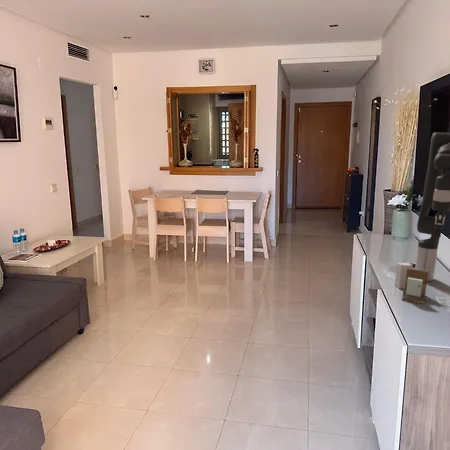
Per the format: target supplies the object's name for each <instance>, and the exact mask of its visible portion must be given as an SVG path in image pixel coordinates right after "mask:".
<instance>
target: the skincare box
mask: <svg viewBox="0 0 450 450" xmlns="http://www.w3.org/2000/svg"><path fill="white" fill-rule="evenodd" d="M413 265H414V264H411V263H409V262H397V264H396V271H395V272H396V273H395V280H394V281H395V282H394V286H395V287H396V286H397V287H398V289H405V281H406V273H407V268H412V269H414V268H413V267H414V266H413ZM397 287H396V288H397Z"/></svg>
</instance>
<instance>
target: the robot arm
mask: <svg viewBox="0 0 450 450" xmlns="http://www.w3.org/2000/svg"><path fill="white" fill-rule="evenodd" d="M430 138H431V139H430V145H429V154H428V163H427V164H428V165H427V170H426V174H425V175H426V176H425V179H424V180H425V181H424V187H423V194H422V195H423V196H422V201H421V207H420V211H419V215H418V219H417V224H416V229H417V232H418V233H419V234H425V235H430V237H428V238H425V239H424V238H423V239H420V240H419V241H418V242H417V250H416V251H417V252H416V257H415V266H414V269H418V270H425V271H428V278H427V282H432V281H434V277H435V276H434V275H435V269H436V263H437V262H436V261H437V257H438V256H437V255H438V249H439V243H440V238H441V235H442V230H443V225H444V224H445V219H446V214H445V212H450V132H436V131H435V132H433V133H432V135H431V137H430ZM444 171H449V173H447V174H445V173H444ZM430 210H433V211H437V213H435V215H434V216H430V215H429V213H430Z"/></svg>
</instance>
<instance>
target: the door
mask: <svg viewBox="0 0 450 450" xmlns="http://www.w3.org/2000/svg"><path fill="white" fill-rule="evenodd" d="M422 282H423V280H422V279H416V278H410V277H408V282H407V290H406V294H407V295H412V296H417V297H421V290H422Z"/></svg>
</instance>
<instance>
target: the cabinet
mask: <svg viewBox="0 0 450 450" xmlns="http://www.w3.org/2000/svg"><path fill="white" fill-rule="evenodd" d="M408 277H410V278H416V279H422V280H423V282H422V290H421V297H417V296H412V295H407V294H406V290H407V282H408ZM427 278H428V271H425V270H418V269H415V268H407V273H406V281H405V288H403V291H402V297H401V300H402V301H404V300H407V301H406V302H410V301H412V302H411V303H415V302H417V303H416V304H420V303H422V304H421V305H424V303H425V298H426V290H427V283H428V281H427Z"/></svg>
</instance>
